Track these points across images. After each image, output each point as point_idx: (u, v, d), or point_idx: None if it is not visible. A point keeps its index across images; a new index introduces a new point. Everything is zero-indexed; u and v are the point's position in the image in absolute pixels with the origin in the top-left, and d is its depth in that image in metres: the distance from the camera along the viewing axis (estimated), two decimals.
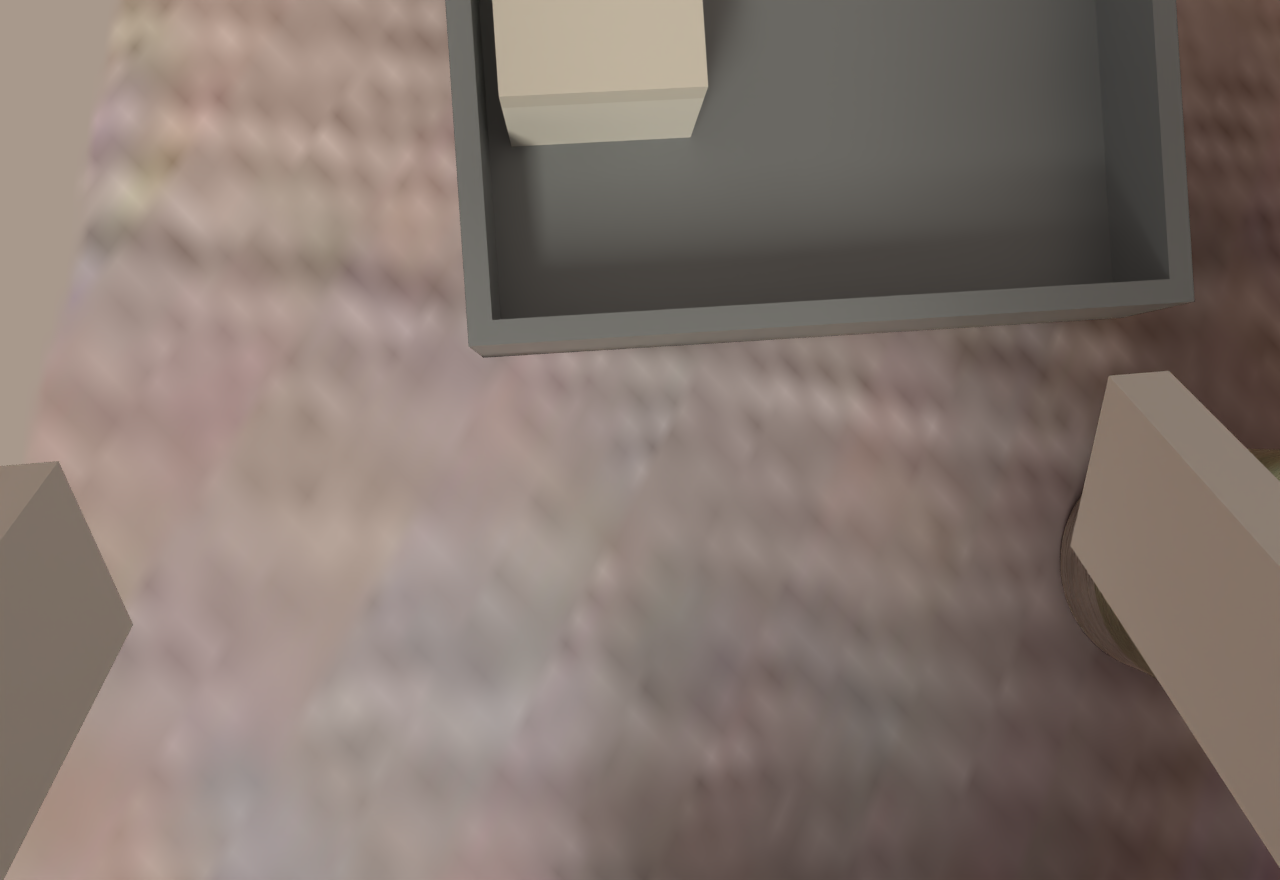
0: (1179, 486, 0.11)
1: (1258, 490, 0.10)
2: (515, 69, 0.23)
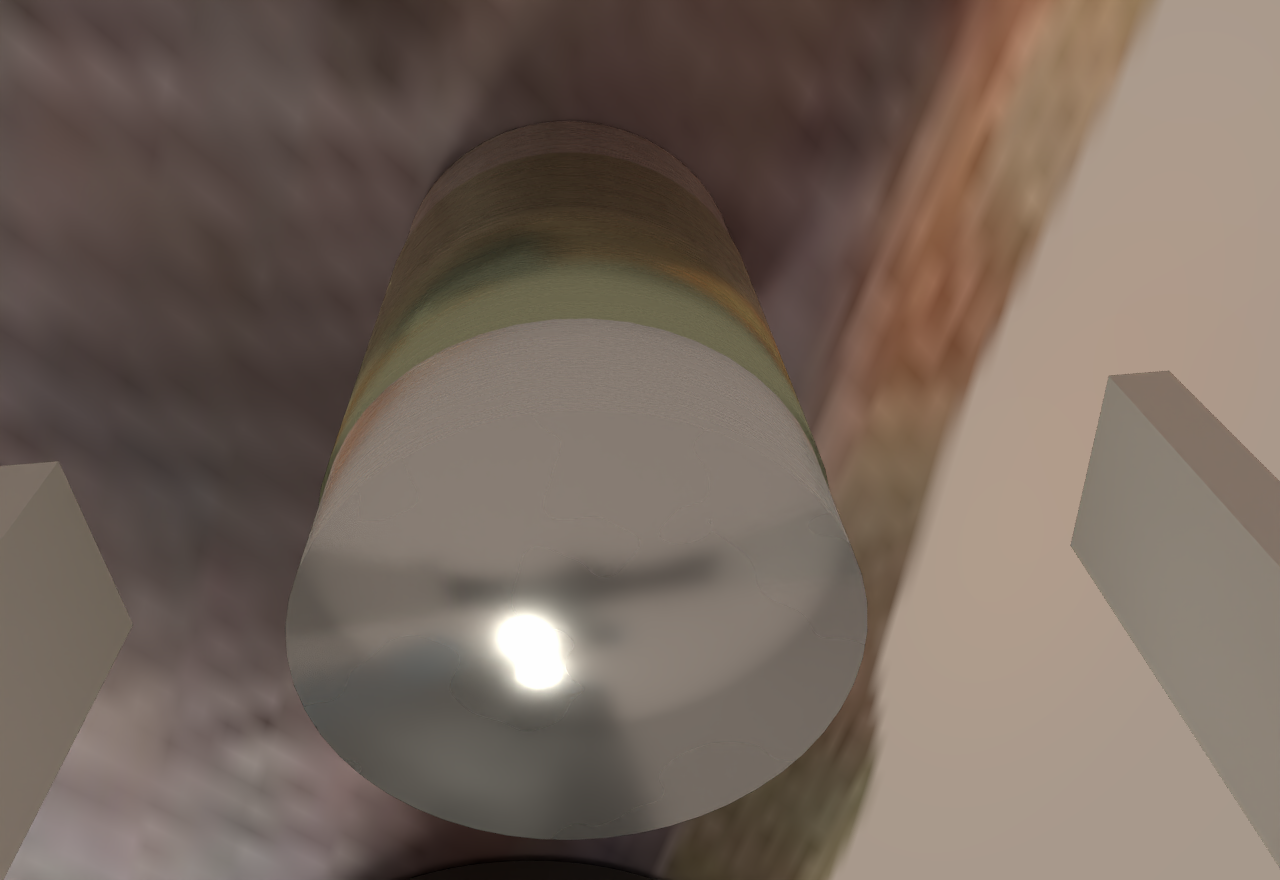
0: (1179, 486, 0.11)
1: (1258, 490, 0.10)
2: None
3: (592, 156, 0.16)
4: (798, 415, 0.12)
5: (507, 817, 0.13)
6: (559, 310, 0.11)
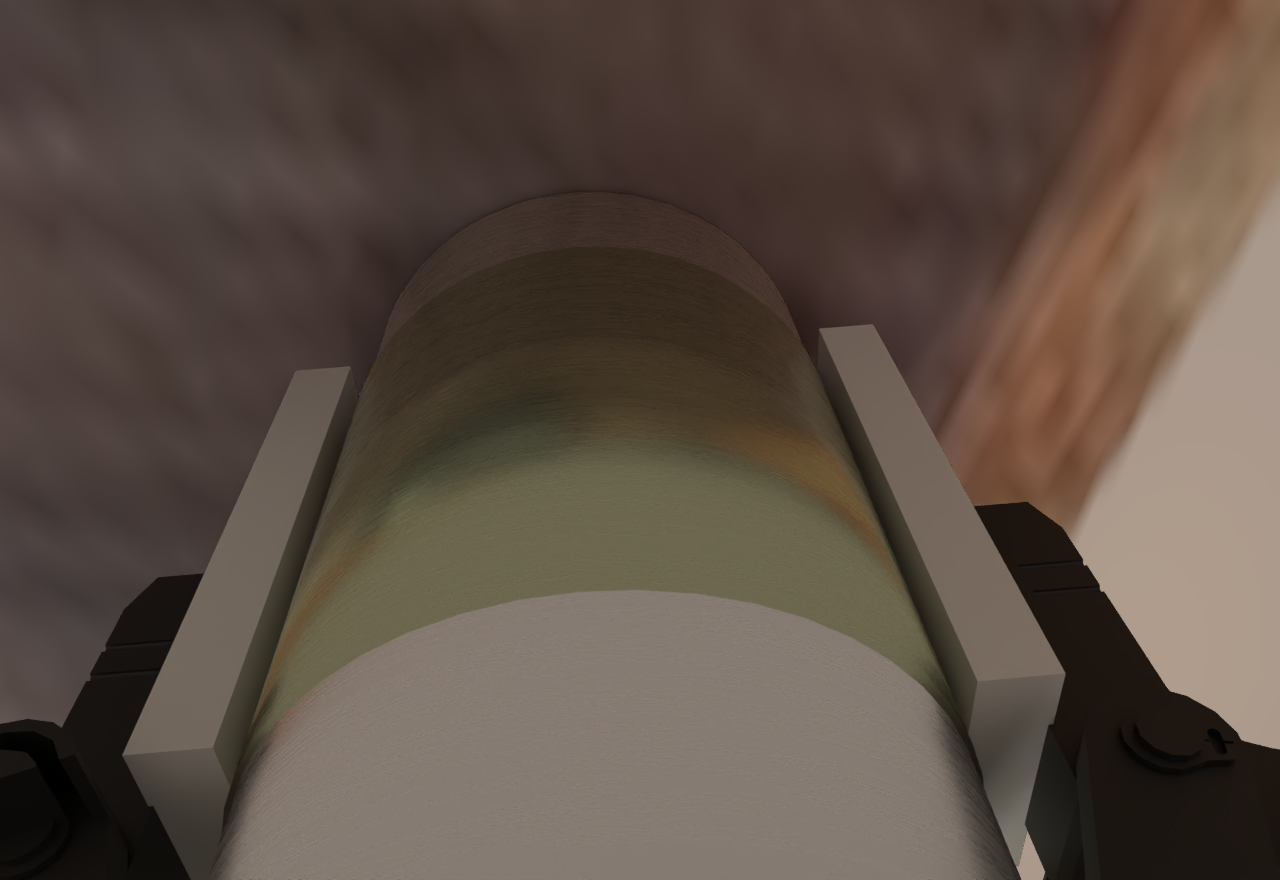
0: (849, 421, 0.13)
1: (901, 421, 0.12)
2: None
3: (626, 253, 0.12)
4: (950, 708, 0.08)
5: None
6: (588, 573, 0.07)
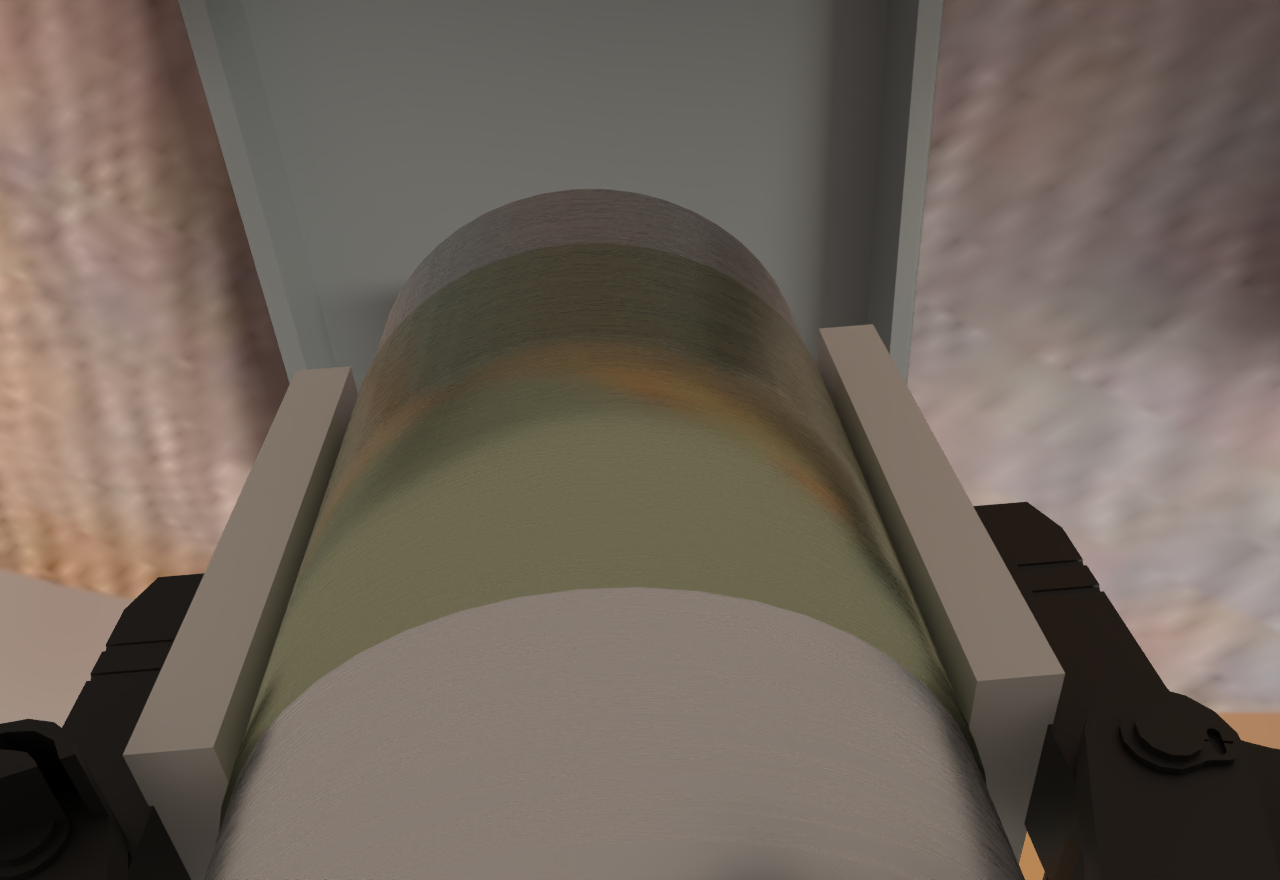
0: (849, 421, 0.13)
1: (900, 421, 0.12)
2: None
3: (626, 250, 0.12)
4: (953, 706, 0.08)
5: None
6: (588, 570, 0.07)
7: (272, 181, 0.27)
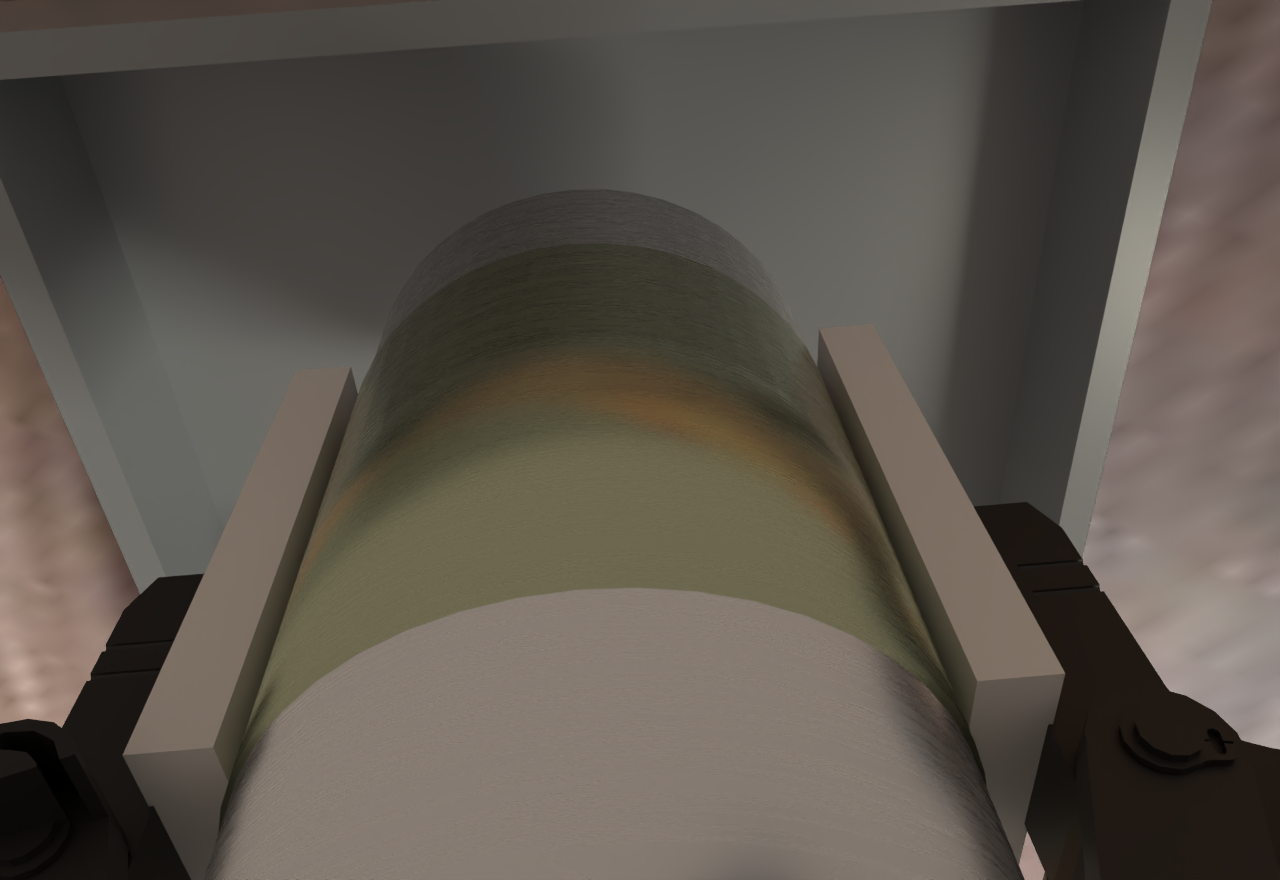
0: (849, 421, 0.13)
1: (900, 421, 0.12)
2: None
3: (626, 250, 0.12)
4: (953, 707, 0.08)
5: None
6: (586, 572, 0.07)
7: (131, 381, 0.18)
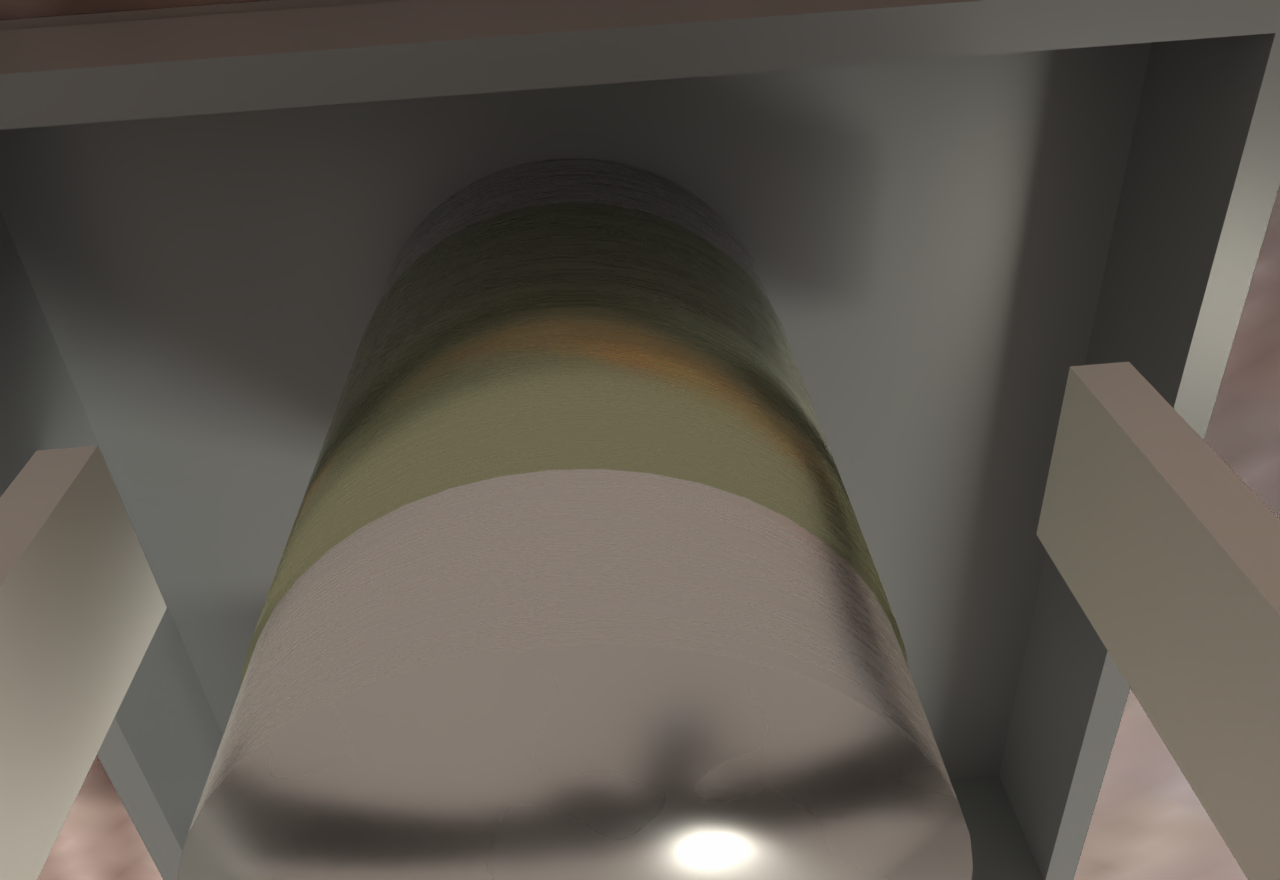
0: (1134, 473, 0.11)
1: (1208, 477, 0.11)
2: None
3: (605, 208, 0.13)
4: (875, 586, 0.09)
5: None
6: (559, 455, 0.08)
7: None
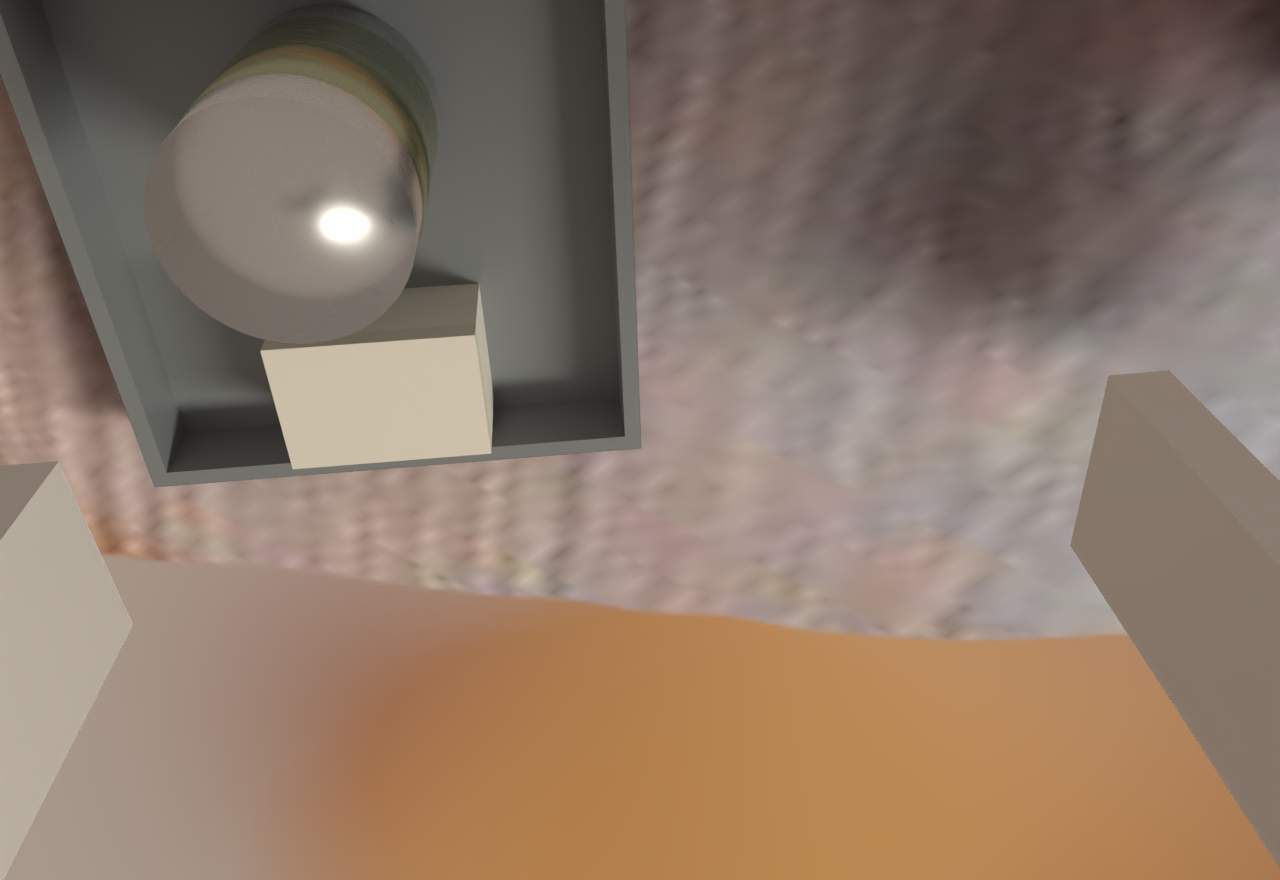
0: (1179, 486, 0.11)
1: (1258, 490, 0.10)
2: (472, 445, 0.36)
3: (331, 19, 0.30)
4: (396, 130, 0.26)
5: (258, 326, 0.26)
6: (274, 69, 0.25)
7: (74, 157, 0.32)
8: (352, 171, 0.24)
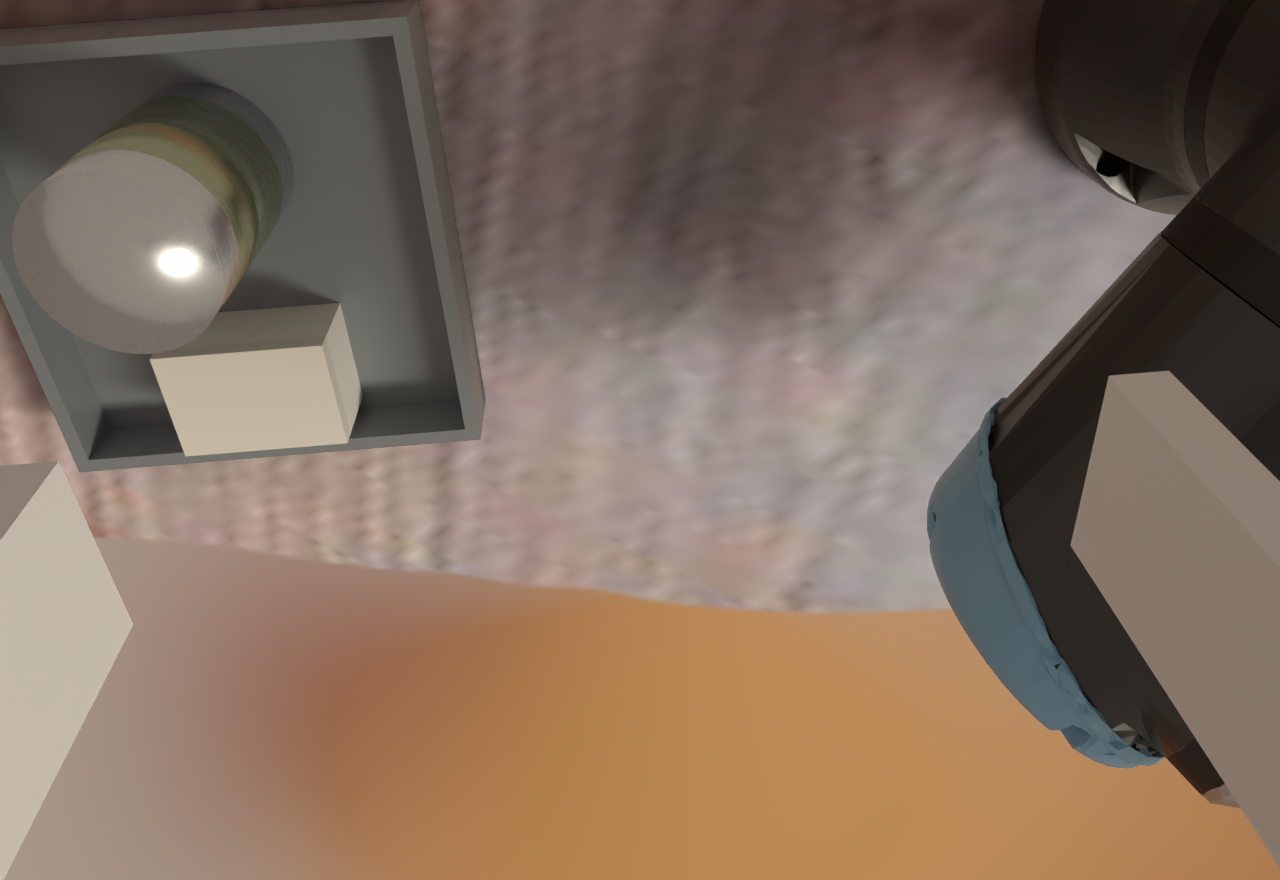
0: (1179, 486, 0.11)
1: (1258, 490, 0.10)
2: (331, 436, 0.44)
3: (188, 98, 0.38)
4: (210, 191, 0.34)
5: (108, 340, 0.34)
6: (113, 146, 0.33)
7: (0, 207, 0.40)
8: (165, 224, 0.32)
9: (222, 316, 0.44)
